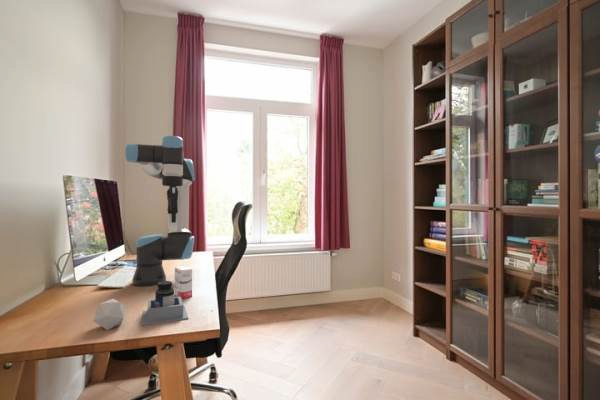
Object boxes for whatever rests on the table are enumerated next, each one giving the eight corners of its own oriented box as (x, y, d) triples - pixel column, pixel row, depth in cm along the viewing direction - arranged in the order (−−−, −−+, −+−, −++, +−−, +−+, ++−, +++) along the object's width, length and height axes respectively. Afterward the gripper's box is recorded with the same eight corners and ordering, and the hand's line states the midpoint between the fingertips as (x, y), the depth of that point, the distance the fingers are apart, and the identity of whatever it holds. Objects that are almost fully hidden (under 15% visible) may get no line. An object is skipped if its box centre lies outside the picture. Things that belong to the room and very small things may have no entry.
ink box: (192, 296, 133) (192, 268, 134) (180, 299, 130) (180, 270, 130) (185, 292, 140) (185, 265, 140) (173, 294, 137) (174, 266, 137)
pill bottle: (152, 313, 111) (152, 282, 111) (170, 310, 115) (170, 279, 115) (158, 318, 106) (158, 285, 106) (176, 314, 110) (176, 282, 110)
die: (111, 321, 107) (91, 302, 102) (136, 308, 107) (116, 288, 103) (104, 340, 99) (81, 320, 95) (130, 326, 100) (109, 305, 95)
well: (143, 312, 114) (143, 299, 114) (184, 306, 120) (184, 294, 120) (142, 325, 102) (142, 311, 102) (188, 319, 108) (188, 305, 108)
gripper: (161, 177, 135) (160, 227, 135) (163, 172, 112) (163, 233, 112) (180, 178, 138) (179, 227, 138) (185, 173, 116) (185, 232, 115)
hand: (172, 230), depth 125 cm, fingers open, 13 cm apart
